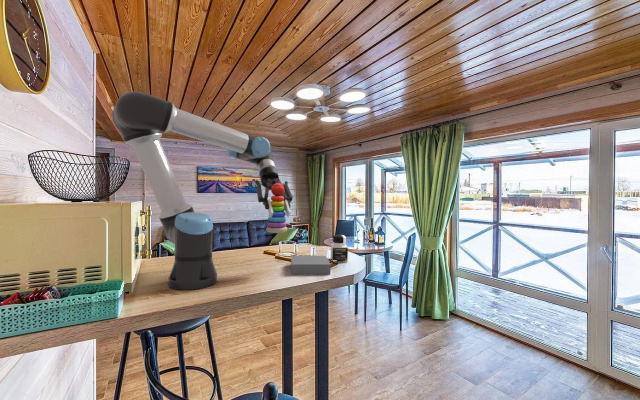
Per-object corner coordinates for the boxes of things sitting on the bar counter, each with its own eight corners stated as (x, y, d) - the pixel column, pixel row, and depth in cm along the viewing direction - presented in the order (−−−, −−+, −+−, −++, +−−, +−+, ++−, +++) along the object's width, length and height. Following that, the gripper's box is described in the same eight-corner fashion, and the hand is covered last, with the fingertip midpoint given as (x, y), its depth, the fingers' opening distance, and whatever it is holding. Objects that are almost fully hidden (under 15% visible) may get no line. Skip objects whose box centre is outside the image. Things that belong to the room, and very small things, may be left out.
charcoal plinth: (291, 274, 111) (291, 264, 111) (290, 264, 126) (291, 255, 126) (330, 274, 113) (330, 264, 113) (325, 264, 128) (325, 255, 128)
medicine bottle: (332, 262, 132) (332, 236, 132) (330, 258, 139) (331, 233, 139) (347, 262, 133) (348, 236, 133) (345, 258, 140) (345, 234, 140)
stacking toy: (285, 233, 108) (286, 183, 107) (264, 233, 108) (264, 182, 107) (288, 230, 116) (288, 183, 115) (268, 230, 116) (268, 183, 115)
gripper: (287, 179, 129) (301, 220, 115) (243, 178, 120) (253, 222, 106) (291, 167, 124) (306, 207, 110) (246, 164, 115) (257, 208, 102)
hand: (280, 214), depth 108 cm, fingers closed on stacking toy, 6 cm apart
